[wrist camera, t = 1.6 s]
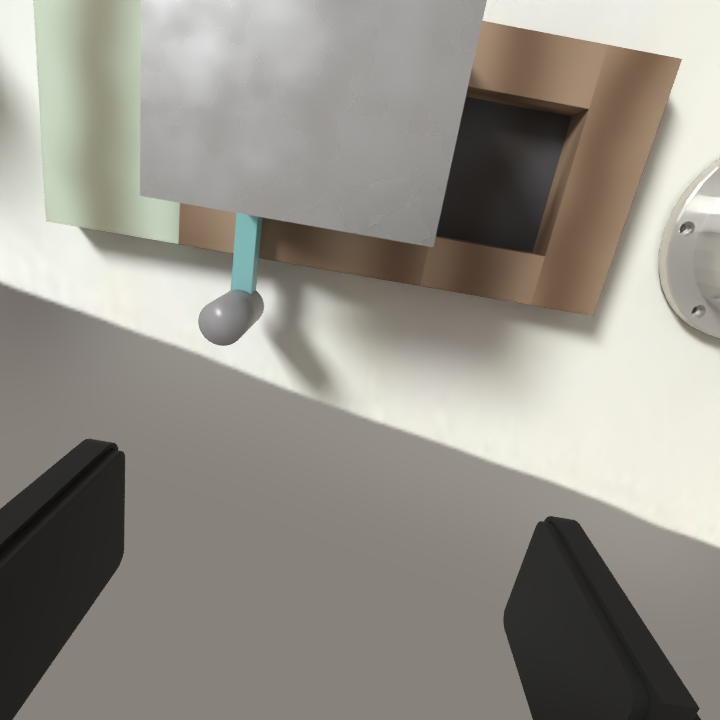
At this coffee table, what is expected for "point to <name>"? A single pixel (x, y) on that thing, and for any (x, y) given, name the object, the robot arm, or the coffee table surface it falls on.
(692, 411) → the coffee table surface
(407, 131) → the tunnel
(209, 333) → the frame
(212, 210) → the track board
